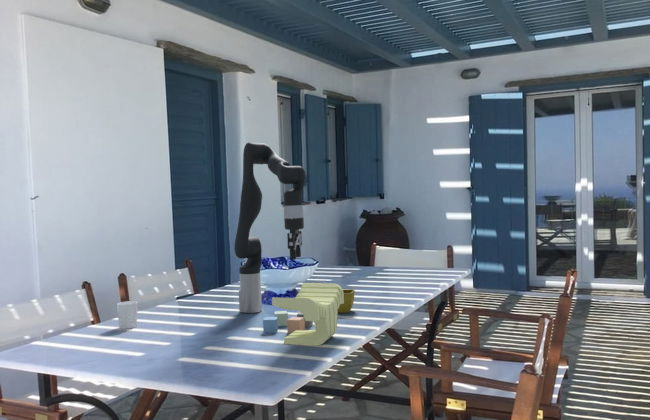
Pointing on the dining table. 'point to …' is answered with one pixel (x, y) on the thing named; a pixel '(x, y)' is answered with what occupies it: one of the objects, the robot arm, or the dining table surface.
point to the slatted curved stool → (314, 311)
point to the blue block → (270, 325)
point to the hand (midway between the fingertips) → (295, 258)
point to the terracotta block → (295, 324)
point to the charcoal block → (307, 323)
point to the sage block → (281, 317)
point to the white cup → (127, 314)
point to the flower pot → (347, 301)
